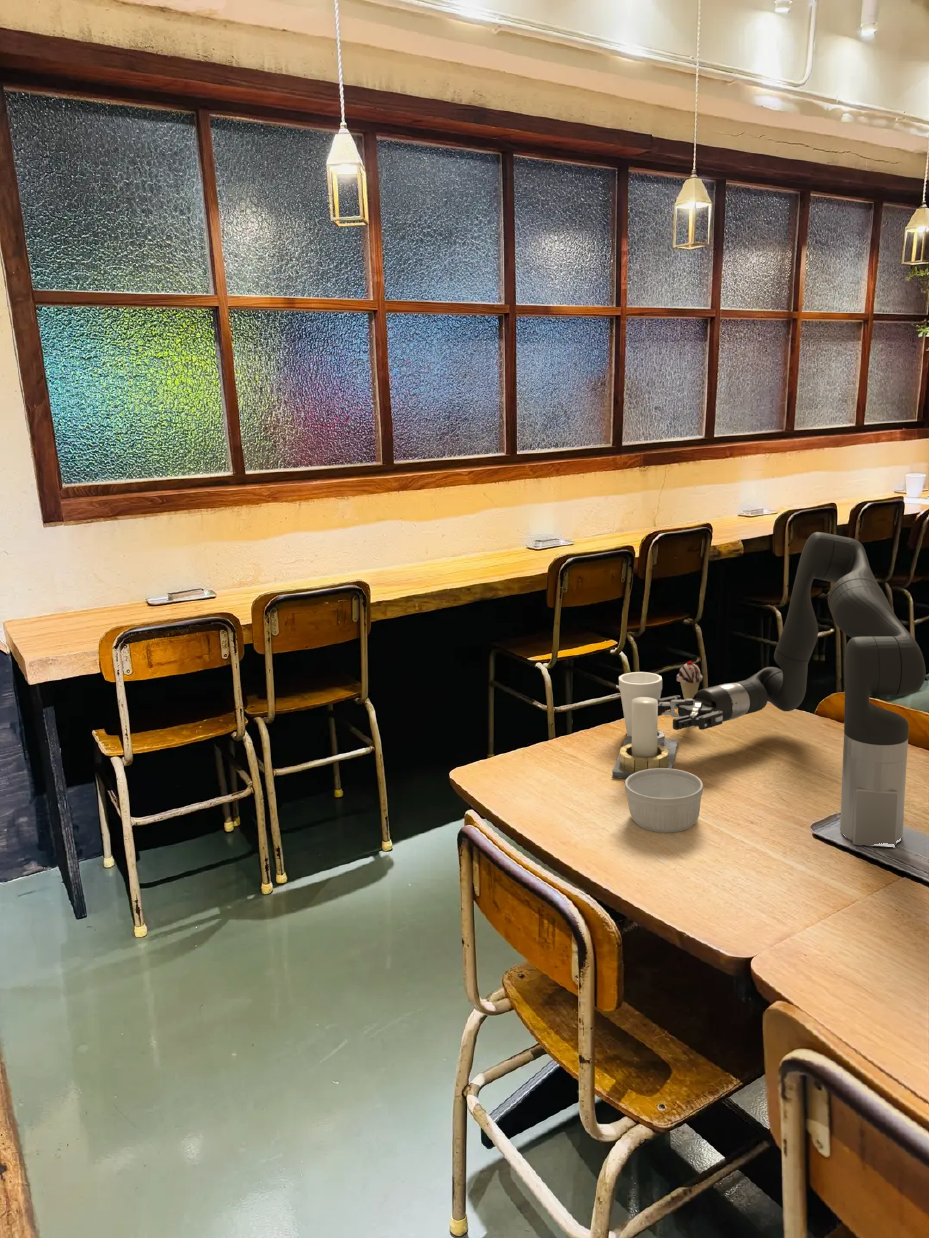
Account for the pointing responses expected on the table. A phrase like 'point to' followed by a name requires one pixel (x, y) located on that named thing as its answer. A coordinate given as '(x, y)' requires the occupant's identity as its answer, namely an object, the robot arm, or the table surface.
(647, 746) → the white rounded cylinder
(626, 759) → the grey ring holder base
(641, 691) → the foam cup
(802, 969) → the table surface
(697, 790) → the ramekin
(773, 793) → the table surface
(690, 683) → the ice cream cone
